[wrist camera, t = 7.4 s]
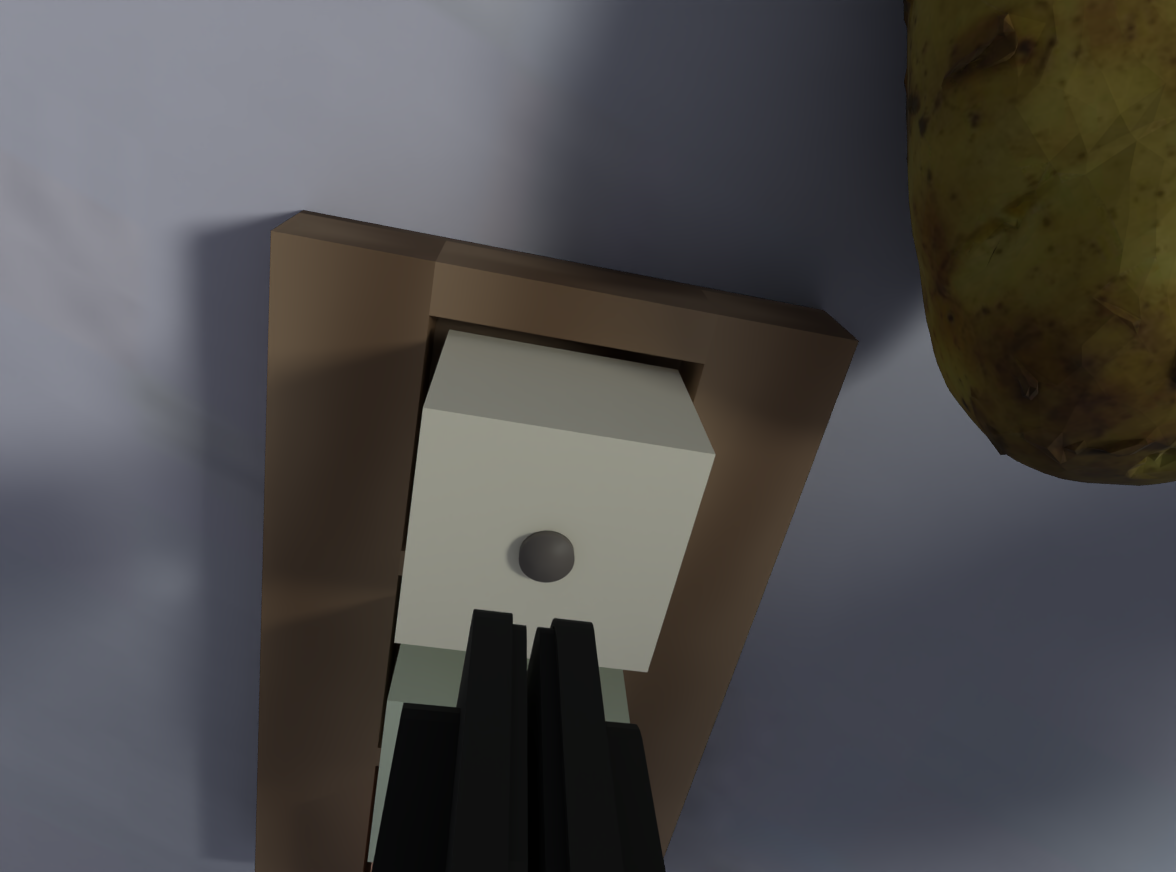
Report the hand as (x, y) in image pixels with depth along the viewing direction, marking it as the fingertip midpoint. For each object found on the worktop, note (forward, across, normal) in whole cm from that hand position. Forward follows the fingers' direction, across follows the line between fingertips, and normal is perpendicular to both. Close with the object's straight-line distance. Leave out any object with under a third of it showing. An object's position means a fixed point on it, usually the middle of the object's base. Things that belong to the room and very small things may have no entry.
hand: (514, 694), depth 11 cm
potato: (+9, -9, -10) cm, 16 cm away
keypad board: (+9, -1, +6) cm, 11 cm away
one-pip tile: (+7, -1, 0) cm, 7 cm away
